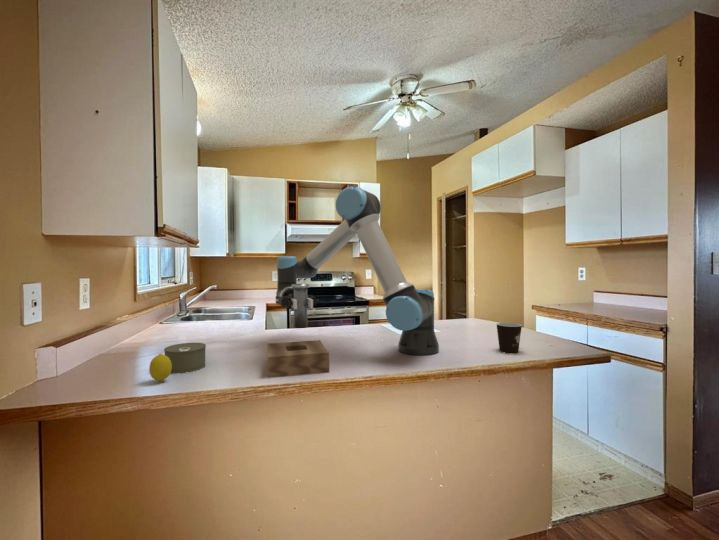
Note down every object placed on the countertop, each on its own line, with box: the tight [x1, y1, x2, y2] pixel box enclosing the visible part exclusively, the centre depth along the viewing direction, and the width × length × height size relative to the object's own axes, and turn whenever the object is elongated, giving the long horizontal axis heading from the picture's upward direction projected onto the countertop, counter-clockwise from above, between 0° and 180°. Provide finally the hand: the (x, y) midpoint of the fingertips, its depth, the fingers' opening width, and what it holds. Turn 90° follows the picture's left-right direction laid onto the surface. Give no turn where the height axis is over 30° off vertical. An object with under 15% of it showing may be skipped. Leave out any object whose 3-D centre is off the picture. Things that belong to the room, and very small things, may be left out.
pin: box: [292, 283, 310, 329], centre depth 116 cm, size 6×6×14 cm
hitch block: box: [267, 339, 330, 378], centre depth 114 cm, size 18×18×6 cm
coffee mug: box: [496, 322, 523, 354], centre depth 132 cm, size 12×9×10 cm
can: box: [163, 342, 207, 374], centre depth 113 cm, size 12×12×7 cm
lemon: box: [148, 353, 172, 383], centre depth 100 cm, size 6×6×8 cm
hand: (303, 304), depth 111 cm, fingers closed on pin, 4 cm apart
